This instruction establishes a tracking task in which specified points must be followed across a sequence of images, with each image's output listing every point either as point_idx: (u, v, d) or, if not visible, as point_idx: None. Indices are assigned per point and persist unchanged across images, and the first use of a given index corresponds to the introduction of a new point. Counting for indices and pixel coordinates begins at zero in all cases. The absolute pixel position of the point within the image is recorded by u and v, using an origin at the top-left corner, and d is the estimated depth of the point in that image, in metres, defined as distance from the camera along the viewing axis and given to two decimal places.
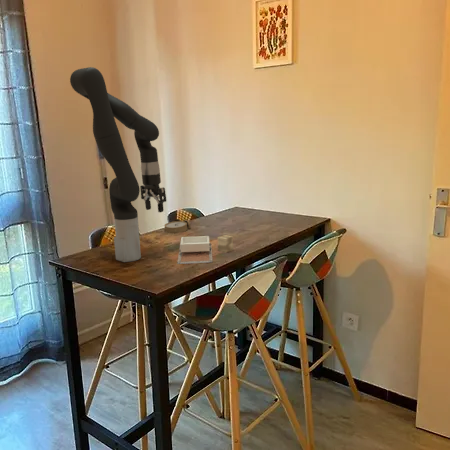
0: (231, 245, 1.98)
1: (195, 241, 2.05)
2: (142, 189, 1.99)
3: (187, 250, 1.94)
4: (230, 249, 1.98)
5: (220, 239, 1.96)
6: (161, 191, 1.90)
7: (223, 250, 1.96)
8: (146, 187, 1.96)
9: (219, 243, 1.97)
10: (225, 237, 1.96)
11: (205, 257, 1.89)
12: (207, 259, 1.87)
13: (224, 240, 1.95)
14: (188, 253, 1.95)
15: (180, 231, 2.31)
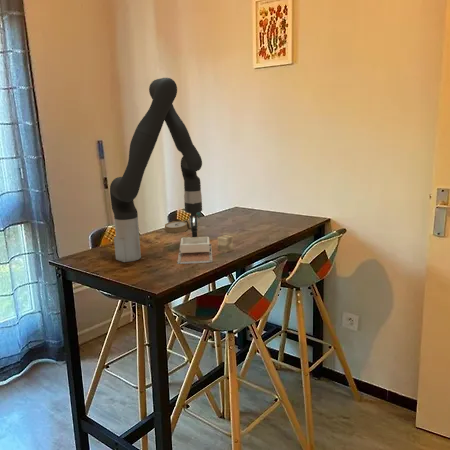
0: (231, 245, 1.98)
1: (195, 242, 2.04)
2: None
3: (187, 251, 1.93)
4: (230, 249, 1.98)
5: (220, 239, 1.96)
6: (192, 225, 1.99)
7: (223, 250, 1.96)
8: None
9: (219, 243, 1.97)
10: (225, 237, 1.96)
11: (205, 257, 1.89)
12: (207, 259, 1.87)
13: (224, 240, 1.95)
14: (188, 253, 1.95)
15: (180, 231, 2.31)
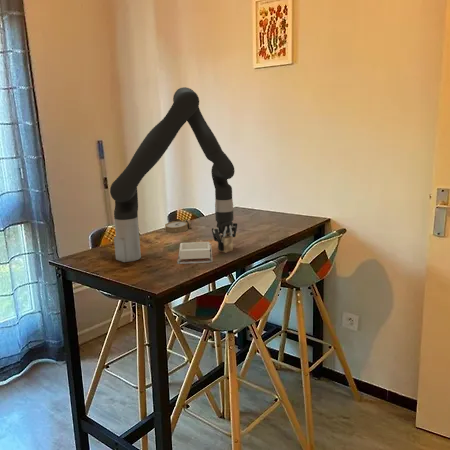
0: (231, 245, 1.98)
1: (195, 247, 1.95)
2: (218, 231, 1.92)
3: (186, 257, 1.85)
4: (230, 249, 1.97)
5: None
6: None
7: (223, 250, 1.96)
8: (222, 225, 1.93)
9: None
10: (225, 237, 1.96)
11: None
12: (207, 259, 1.87)
13: (224, 240, 1.95)
14: None
15: (181, 231, 2.31)
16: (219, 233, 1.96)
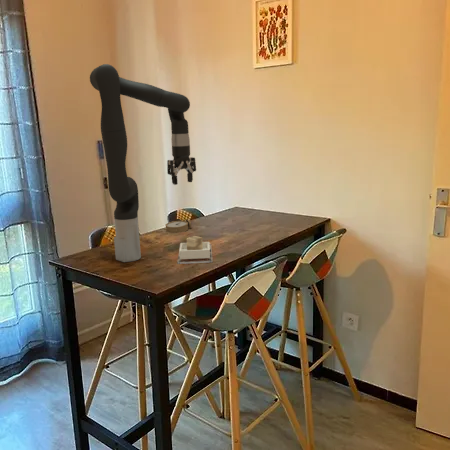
0: (201, 246, 1.90)
1: None
2: (173, 163, 1.93)
3: (186, 257, 1.85)
4: None
5: (189, 240, 1.88)
6: None
7: None
8: (178, 160, 1.95)
9: (188, 244, 1.89)
10: (194, 238, 1.89)
11: None
12: (207, 259, 1.87)
13: (193, 241, 1.87)
14: None
15: (181, 231, 2.31)
16: (174, 168, 1.97)
